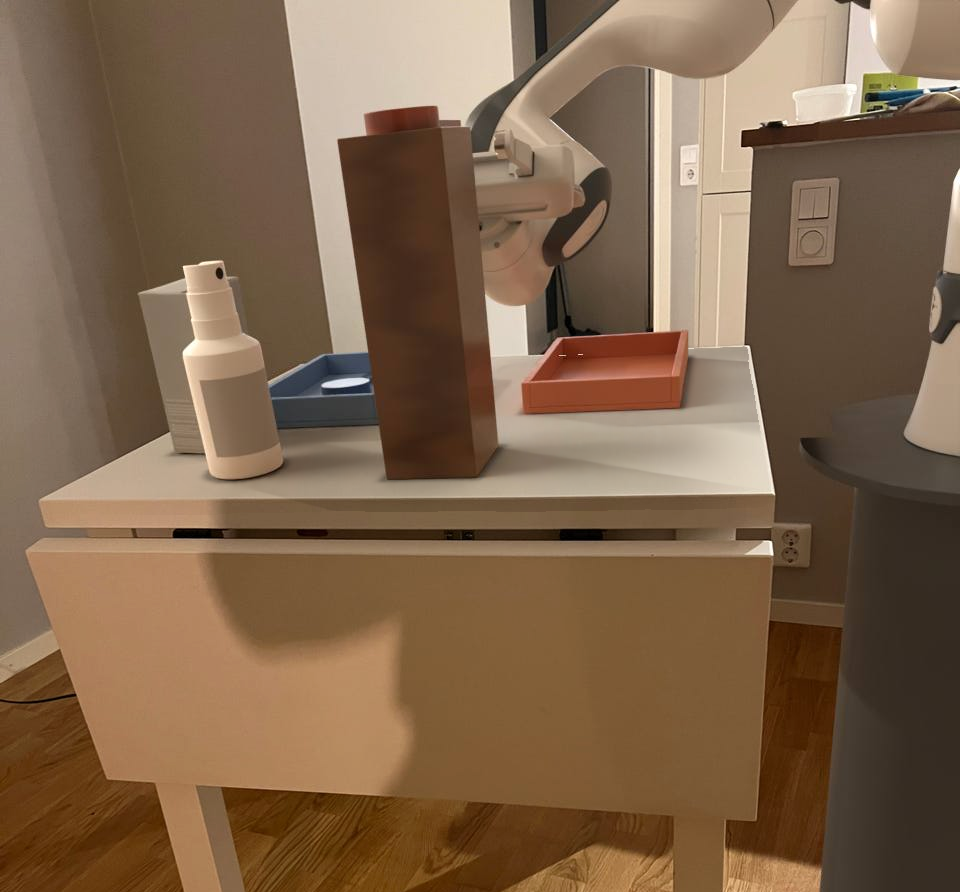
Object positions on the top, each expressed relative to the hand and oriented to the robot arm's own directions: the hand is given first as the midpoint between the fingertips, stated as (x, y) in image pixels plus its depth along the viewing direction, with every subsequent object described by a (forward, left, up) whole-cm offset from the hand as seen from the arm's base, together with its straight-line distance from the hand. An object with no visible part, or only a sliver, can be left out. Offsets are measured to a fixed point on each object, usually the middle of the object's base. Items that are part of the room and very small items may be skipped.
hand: (450, 143), depth 84 cm
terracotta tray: (-12, -15, -25) cm, 31 cm away
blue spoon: (+18, -18, -25) cm, 35 cm away
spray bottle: (+19, +13, -25) cm, 34 cm away
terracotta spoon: (0, +7, +1) cm, 7 cm away
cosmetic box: (+26, +4, -25) cm, 36 cm away
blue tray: (+18, -13, -25) cm, 33 cm away
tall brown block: (0, +13, -25) cm, 28 cm away
